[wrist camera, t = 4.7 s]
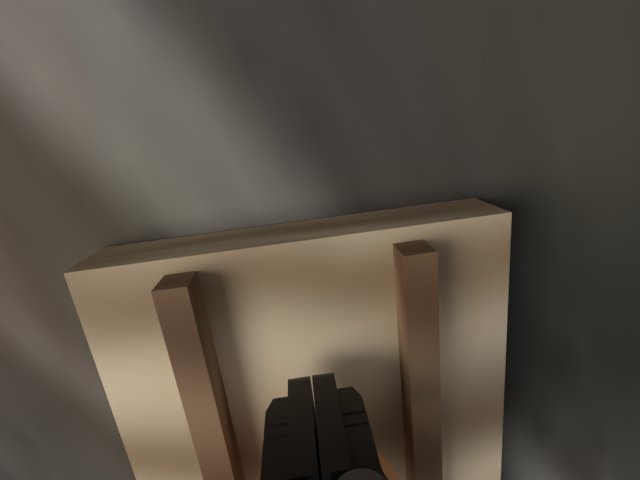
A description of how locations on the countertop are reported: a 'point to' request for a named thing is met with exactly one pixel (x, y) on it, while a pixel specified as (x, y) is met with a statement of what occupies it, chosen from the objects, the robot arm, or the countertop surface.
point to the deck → (307, 336)
